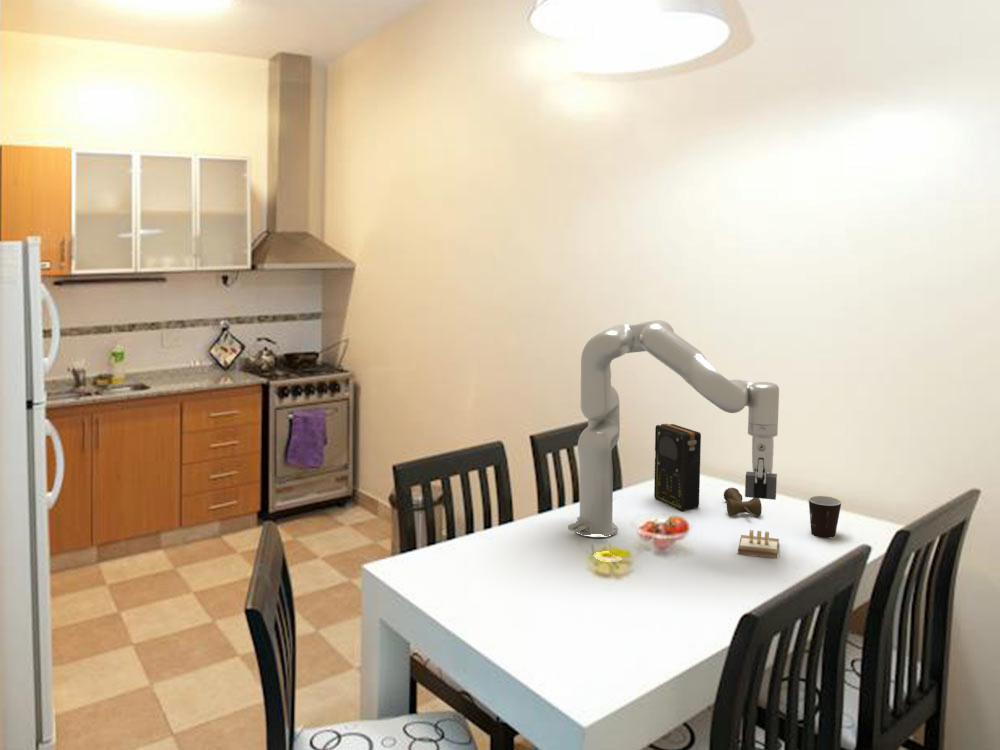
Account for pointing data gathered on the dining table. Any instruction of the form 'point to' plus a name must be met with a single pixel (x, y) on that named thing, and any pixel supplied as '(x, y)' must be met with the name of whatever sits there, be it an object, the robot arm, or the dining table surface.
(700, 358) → the robot arm
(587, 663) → the dining table surface
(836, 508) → the coffee mug
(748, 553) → the pin board
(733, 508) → the kendama
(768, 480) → the plug housing
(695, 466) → the voltmeter
